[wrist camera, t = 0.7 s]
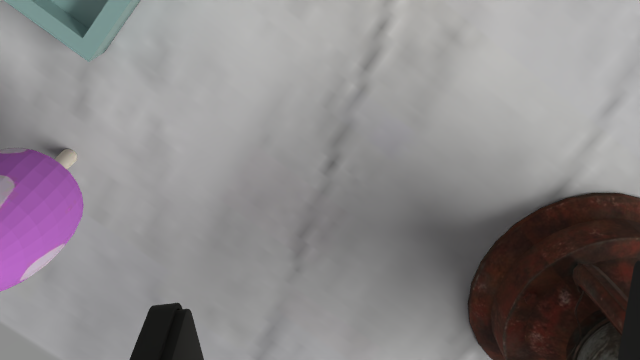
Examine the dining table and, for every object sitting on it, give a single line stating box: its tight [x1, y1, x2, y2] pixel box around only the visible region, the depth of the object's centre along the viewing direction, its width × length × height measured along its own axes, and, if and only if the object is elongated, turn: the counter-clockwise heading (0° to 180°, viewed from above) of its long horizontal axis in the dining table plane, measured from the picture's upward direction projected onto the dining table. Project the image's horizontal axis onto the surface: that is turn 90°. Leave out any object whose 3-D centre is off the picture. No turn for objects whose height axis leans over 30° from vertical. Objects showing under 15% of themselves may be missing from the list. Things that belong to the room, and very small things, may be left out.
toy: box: [0, 148, 83, 291], centre depth 32 cm, size 7×7×15 cm
